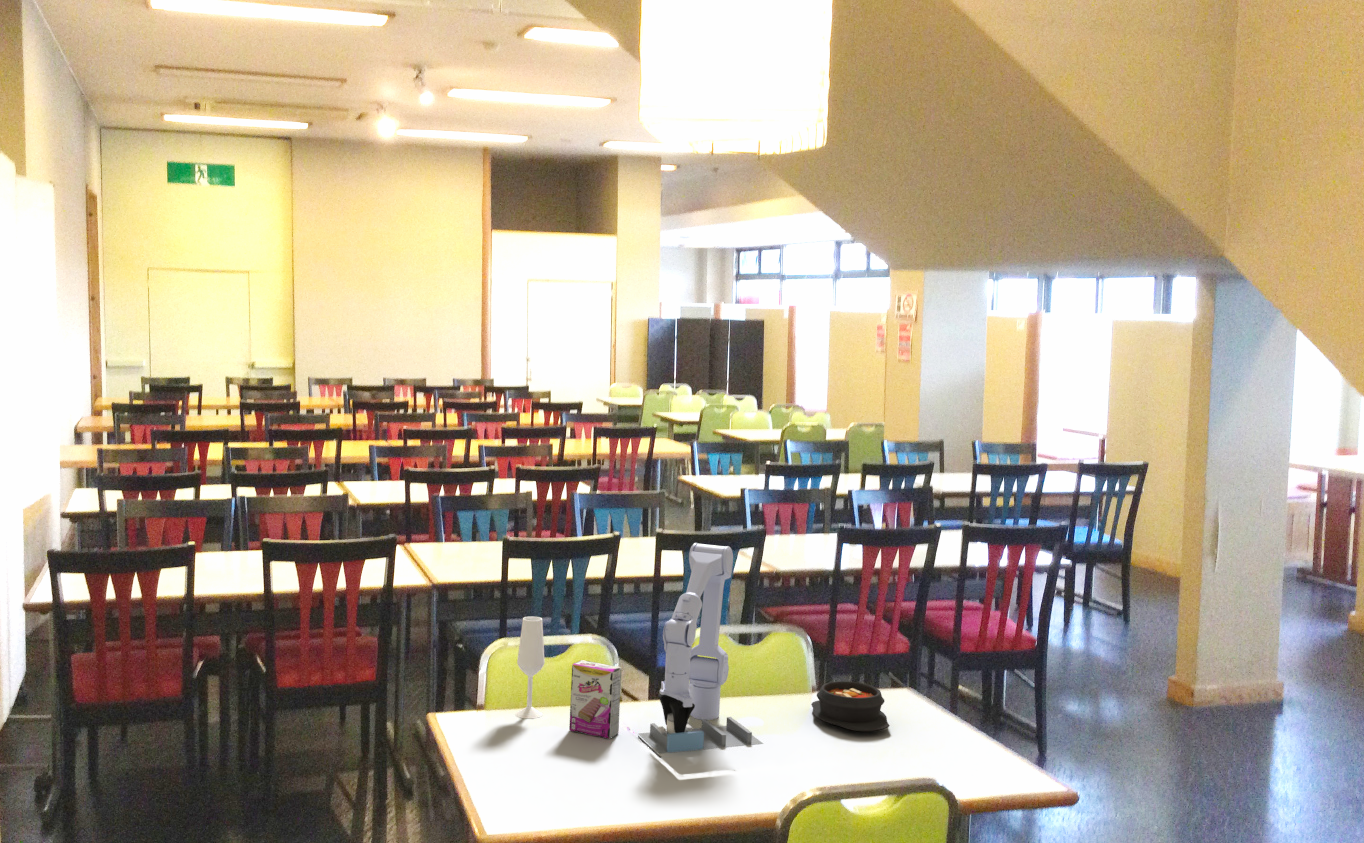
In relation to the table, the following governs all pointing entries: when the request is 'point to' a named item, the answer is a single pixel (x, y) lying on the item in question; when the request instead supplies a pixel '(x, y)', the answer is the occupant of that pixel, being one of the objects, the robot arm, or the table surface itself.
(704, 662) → the robot arm
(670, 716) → the cream rounded cylinder
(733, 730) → the grey slotted rack
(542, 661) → the champagne flute
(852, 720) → the casserole
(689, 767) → the table surface
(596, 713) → the candy bar box
